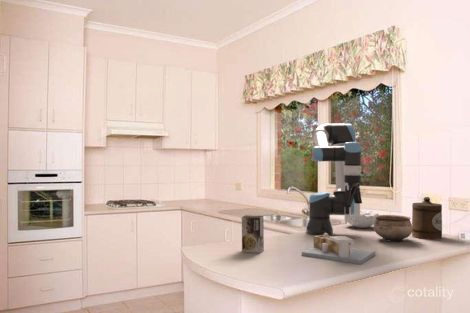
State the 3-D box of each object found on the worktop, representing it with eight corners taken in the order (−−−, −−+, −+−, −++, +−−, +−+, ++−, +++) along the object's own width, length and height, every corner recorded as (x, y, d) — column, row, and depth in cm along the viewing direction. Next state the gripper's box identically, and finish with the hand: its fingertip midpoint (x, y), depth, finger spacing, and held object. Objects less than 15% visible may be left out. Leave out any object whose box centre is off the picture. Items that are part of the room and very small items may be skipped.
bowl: (362, 224, 258) (362, 208, 258) (386, 228, 239) (386, 212, 239) (337, 226, 249) (337, 210, 249) (359, 231, 230) (359, 214, 231)
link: (313, 246, 182) (313, 235, 182) (326, 245, 185) (326, 234, 185) (338, 255, 165) (338, 243, 165) (352, 253, 168) (352, 242, 168)
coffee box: (264, 250, 181) (264, 215, 181) (260, 253, 175) (260, 217, 175) (245, 248, 184) (245, 214, 184) (241, 251, 178) (241, 216, 178)
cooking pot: (399, 246, 188) (399, 221, 188) (363, 240, 202) (363, 217, 203) (421, 239, 205) (421, 216, 205) (387, 234, 219) (386, 213, 219)
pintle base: (300, 255, 170) (300, 235, 170) (319, 247, 187) (319, 228, 187) (360, 264, 155) (359, 242, 155) (374, 254, 172) (374, 234, 173)
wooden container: (442, 240, 203) (441, 198, 204) (411, 238, 210) (410, 197, 211) (442, 235, 216) (441, 196, 217) (413, 233, 223) (412, 195, 224)
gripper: (351, 176, 173) (351, 224, 173) (368, 173, 193) (368, 215, 193) (335, 175, 177) (335, 222, 177) (353, 172, 197) (353, 214, 198)
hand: (352, 218), depth 185 cm, fingers open, 13 cm apart
